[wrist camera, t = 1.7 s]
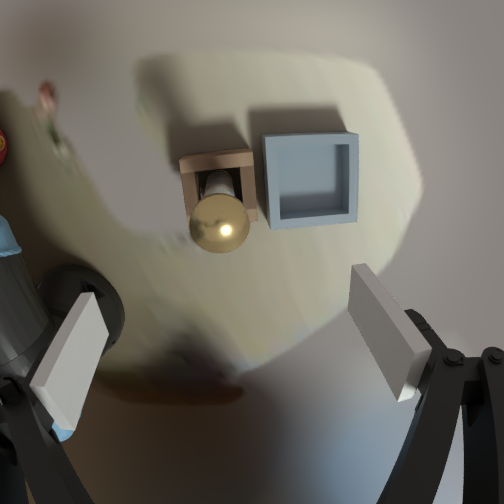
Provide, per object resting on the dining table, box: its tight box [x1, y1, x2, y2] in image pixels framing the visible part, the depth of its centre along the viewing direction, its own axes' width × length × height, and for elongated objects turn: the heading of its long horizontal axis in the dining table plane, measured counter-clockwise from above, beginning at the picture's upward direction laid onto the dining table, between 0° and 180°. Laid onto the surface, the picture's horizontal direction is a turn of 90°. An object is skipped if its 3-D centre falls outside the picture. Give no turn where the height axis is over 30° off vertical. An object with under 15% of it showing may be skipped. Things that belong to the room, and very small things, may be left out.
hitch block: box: [179, 148, 258, 227], centre depth 37 cm, size 8×8×4 cm
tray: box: [261, 132, 359, 230], centre depth 38 cm, size 11×11×4 cm
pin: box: [189, 170, 250, 253], centre depth 32 cm, size 5×5×15 cm
